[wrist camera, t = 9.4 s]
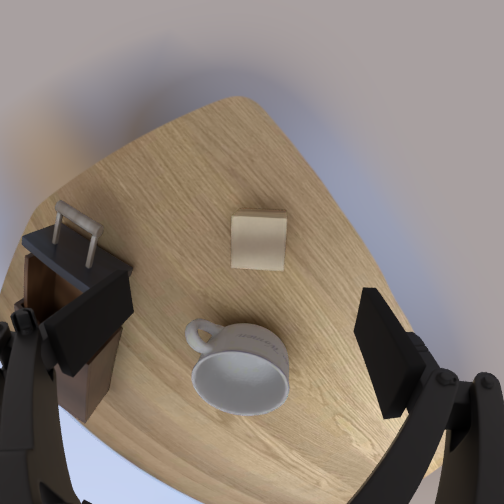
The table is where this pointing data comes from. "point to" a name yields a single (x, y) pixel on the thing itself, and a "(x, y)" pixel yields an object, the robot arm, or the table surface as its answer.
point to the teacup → (239, 367)
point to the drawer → (64, 263)
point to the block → (258, 239)
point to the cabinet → (86, 378)
